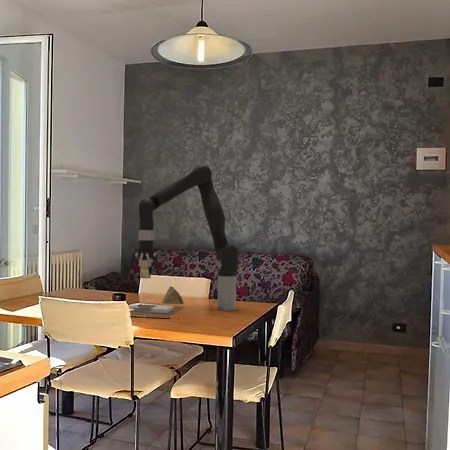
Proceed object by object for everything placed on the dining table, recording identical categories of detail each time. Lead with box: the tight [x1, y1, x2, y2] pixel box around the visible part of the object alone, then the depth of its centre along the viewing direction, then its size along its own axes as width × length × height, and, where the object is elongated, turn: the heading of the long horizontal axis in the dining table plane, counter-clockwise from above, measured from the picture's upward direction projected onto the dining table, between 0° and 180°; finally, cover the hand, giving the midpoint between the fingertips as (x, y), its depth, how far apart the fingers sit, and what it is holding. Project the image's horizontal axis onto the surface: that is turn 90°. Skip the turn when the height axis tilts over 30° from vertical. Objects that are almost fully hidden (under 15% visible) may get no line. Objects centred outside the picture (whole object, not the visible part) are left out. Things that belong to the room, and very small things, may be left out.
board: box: [130, 304, 186, 320], centre depth 258 cm, size 28×22×1 cm
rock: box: [161, 286, 185, 305], centre depth 278 cm, size 11×9×10 cm
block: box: [139, 260, 152, 280], centre depth 262 cm, size 4×4×9 cm
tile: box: [151, 304, 175, 314], centre depth 255 cm, size 2×8×10 cm
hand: (145, 273), depth 263 cm, fingers closed on block, 4 cm apart
